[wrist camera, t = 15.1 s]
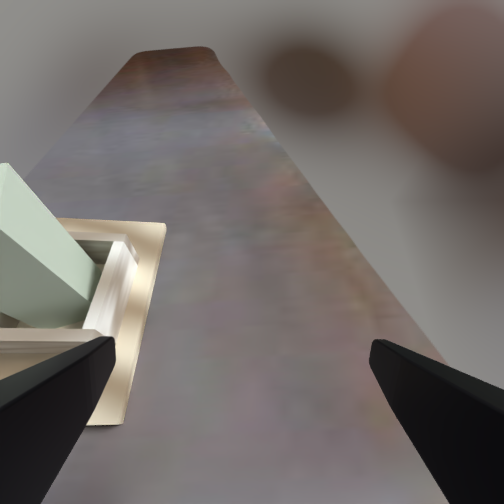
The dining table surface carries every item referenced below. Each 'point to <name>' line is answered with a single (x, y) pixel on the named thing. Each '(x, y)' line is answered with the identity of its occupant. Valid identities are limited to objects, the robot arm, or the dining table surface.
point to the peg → (40, 261)
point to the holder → (99, 308)
